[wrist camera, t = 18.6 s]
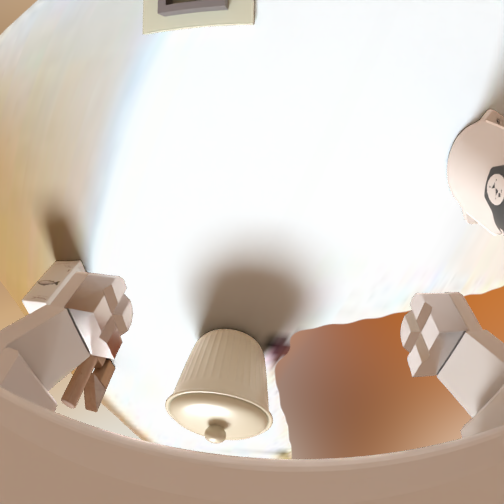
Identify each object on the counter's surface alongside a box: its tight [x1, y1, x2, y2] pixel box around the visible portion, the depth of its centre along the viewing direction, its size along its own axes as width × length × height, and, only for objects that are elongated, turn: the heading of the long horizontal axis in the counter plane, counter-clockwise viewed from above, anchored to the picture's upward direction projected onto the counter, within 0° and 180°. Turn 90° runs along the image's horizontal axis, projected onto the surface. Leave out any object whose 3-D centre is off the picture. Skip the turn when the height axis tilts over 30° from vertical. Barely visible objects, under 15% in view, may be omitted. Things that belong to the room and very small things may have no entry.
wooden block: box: [61, 355, 115, 412], centre depth 59 cm, size 4×11×18 cm, turn 5°
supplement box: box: [22, 260, 86, 314], centre depth 48 cm, size 7×7×13 cm
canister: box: [165, 329, 273, 443], centre depth 50 cm, size 18×18×21 cm
